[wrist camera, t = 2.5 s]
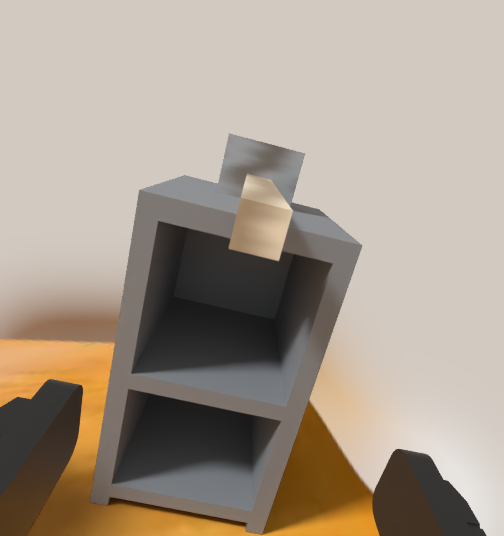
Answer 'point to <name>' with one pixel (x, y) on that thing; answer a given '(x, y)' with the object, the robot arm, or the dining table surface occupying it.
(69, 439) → the robot arm
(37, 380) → the dining table surface
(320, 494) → the dining table surface
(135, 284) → the tall grey box
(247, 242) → the tan and grey block
